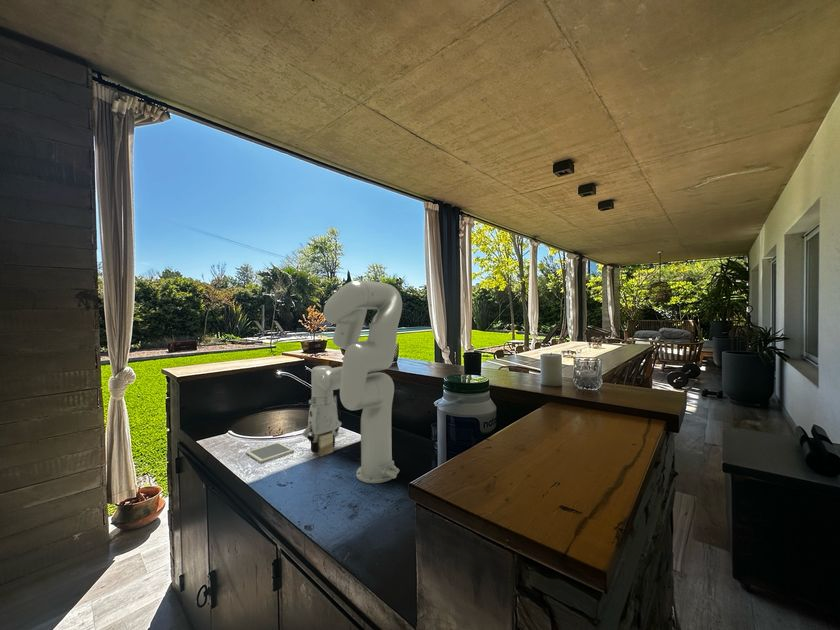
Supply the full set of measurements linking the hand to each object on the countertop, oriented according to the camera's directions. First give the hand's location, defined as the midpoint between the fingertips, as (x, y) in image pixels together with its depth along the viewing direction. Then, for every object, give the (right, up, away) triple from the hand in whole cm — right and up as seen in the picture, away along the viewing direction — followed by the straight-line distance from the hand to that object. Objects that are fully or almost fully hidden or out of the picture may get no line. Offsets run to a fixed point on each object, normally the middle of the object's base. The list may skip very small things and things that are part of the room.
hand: (323, 448), depth 125 cm
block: (0, -1, 0) cm, 1 cm away
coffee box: (-4, -1, +17) cm, 17 cm away
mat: (-19, -1, -1) cm, 19 cm away
